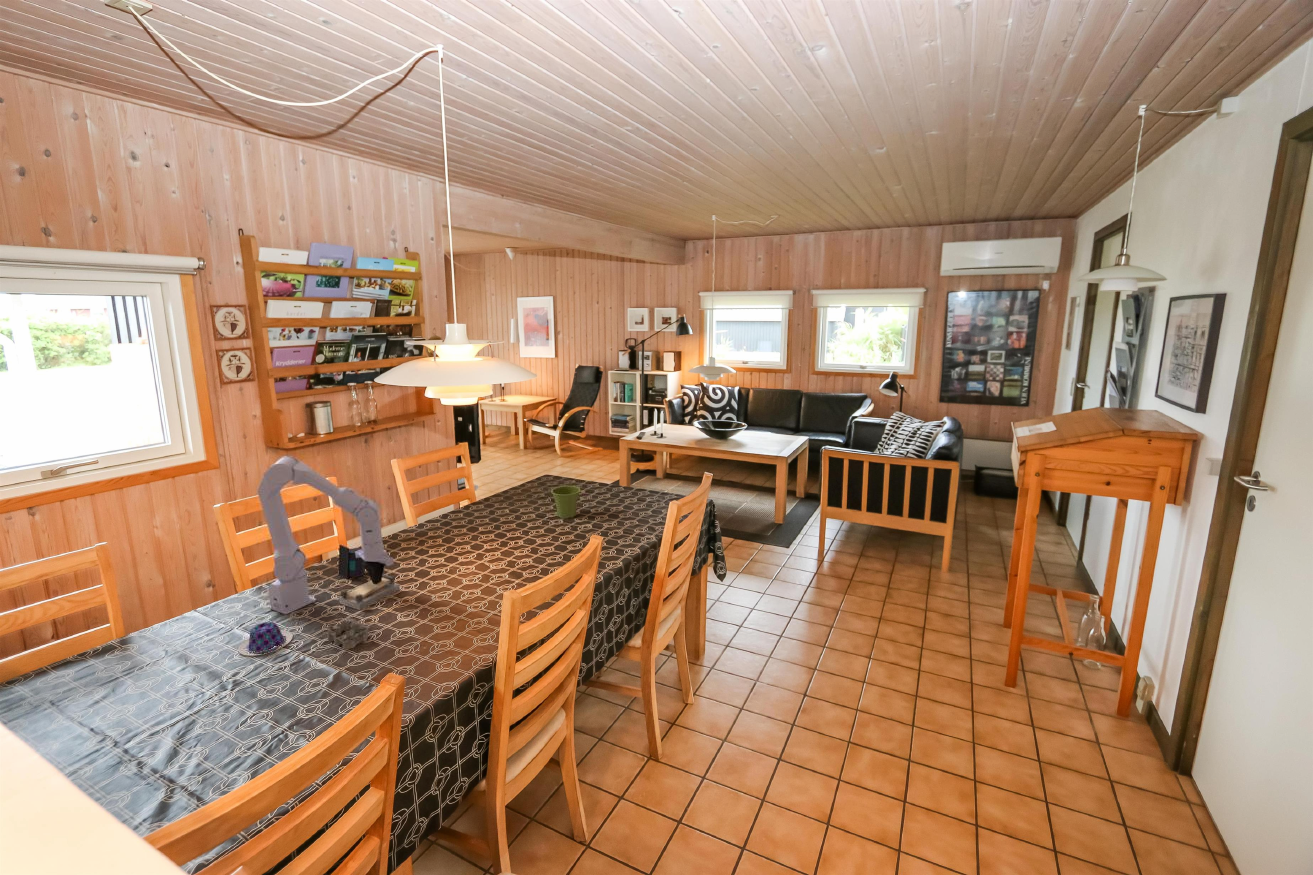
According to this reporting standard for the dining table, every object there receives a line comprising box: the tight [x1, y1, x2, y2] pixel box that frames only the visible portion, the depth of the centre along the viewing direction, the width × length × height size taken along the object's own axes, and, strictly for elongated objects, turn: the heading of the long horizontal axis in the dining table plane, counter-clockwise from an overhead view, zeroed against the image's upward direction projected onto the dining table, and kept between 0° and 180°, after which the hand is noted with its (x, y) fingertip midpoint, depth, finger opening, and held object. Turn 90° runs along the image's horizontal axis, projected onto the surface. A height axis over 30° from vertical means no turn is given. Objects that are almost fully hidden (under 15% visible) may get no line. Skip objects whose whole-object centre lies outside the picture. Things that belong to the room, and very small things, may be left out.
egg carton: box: [323, 618, 370, 650], centre depth 161 cm, size 11×8×4 cm
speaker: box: [338, 544, 366, 581], centre depth 197 cm, size 8×6×10 cm
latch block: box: [338, 573, 401, 611], centre depth 183 cm, size 14×9×4 cm, turn 153°
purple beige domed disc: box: [238, 621, 293, 657], centre depth 158 cm, size 12×12×5 cm
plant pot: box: [550, 485, 581, 519], centre depth 251 cm, size 12×12×11 cm
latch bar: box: [346, 578, 390, 600], centre depth 183 cm, size 12×5×1 cm, turn 153°
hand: (377, 582), depth 185 cm, fingers closed, pressing on latch bar
